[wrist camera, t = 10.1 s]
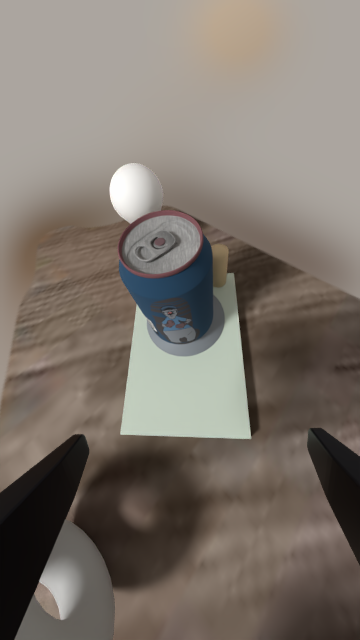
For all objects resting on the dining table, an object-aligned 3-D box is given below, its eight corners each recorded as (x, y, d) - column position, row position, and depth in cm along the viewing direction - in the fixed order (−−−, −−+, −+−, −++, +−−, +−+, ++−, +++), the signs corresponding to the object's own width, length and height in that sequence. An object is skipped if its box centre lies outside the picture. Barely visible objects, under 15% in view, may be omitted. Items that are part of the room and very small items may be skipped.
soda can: (188, 284, 27) (171, 190, 16) (226, 323, 24) (236, 240, 13) (142, 316, 26) (91, 239, 15) (175, 361, 23) (142, 304, 12)
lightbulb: (167, 225, 34) (148, 144, 24) (179, 253, 31) (162, 173, 21) (130, 238, 34) (96, 162, 24) (138, 266, 31) (103, 193, 21)
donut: (144, 591, 17) (64, 778, 8) (113, 642, 16) (-18, 922, 7) (67, 488, 20) (-47, 536, 12) (38, 525, 19) (-110, 608, 11)
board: (249, 438, 20) (262, 442, 15) (125, 434, 22) (94, 436, 16) (233, 278, 28) (237, 242, 22) (142, 284, 30) (126, 252, 24)
